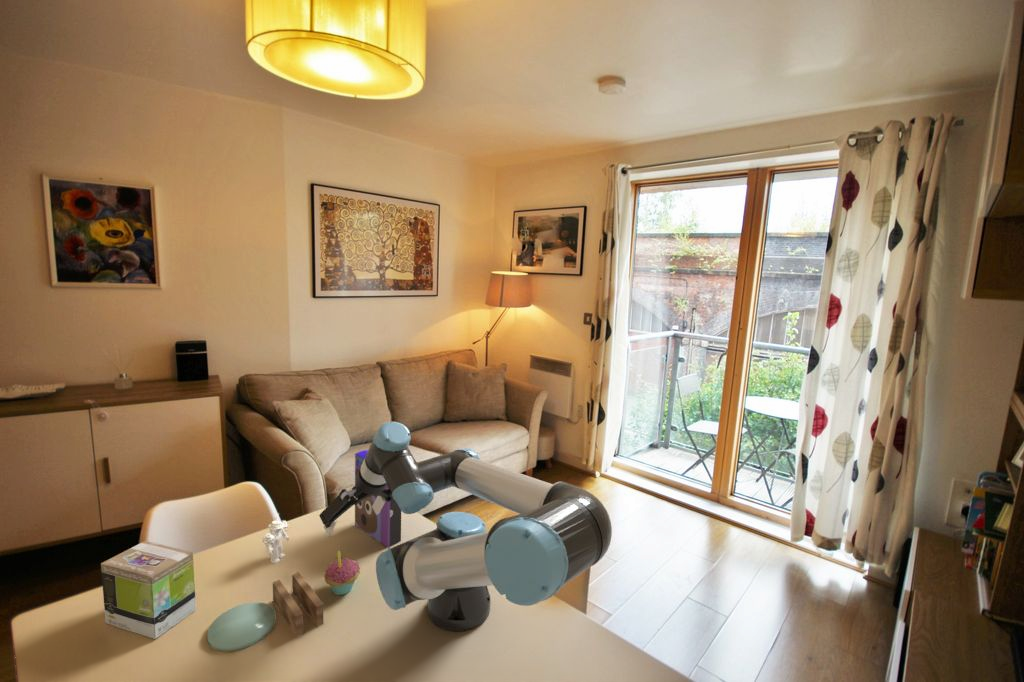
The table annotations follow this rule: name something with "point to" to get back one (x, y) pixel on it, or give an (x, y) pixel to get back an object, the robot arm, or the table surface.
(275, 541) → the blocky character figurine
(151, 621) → the tea box
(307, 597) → the brown flat block
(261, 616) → the plate
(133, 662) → the table surface
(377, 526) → the cereal box
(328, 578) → the cupcake
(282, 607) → the rail
